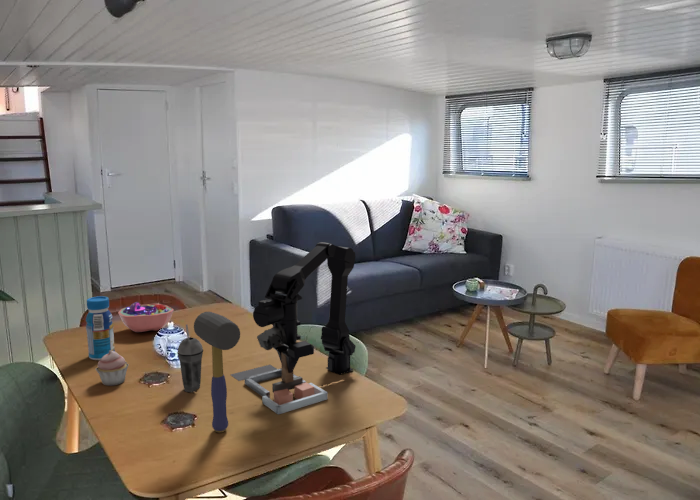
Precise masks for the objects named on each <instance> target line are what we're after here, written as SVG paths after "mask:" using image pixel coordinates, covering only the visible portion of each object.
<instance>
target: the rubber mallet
mask: <svg viewBox="0 0 700 500" xmlns="http://www.w3.org/2000/svg"><path fill="white" fill-rule="evenodd" d="M193 331H194V333H195V335H196V336H198V338H200V339H201V340H202V341H204V342H205V343H206V344H208V345H210V346H211V356H212V357H211V359H212V360H211V362H212V376H211V384H210V385H211V386H210V394H211V396H210V397H211V401H212V416H213V417H212V422H211V426H212V428H213V430H214V432H215V433H224V432H225V431H226V430H227V428H228V426H229V420H228V415H227V397H228V391H227V383H226V382H227V381H226V376H225V374H224V363H223V362H224V359H223V351H228V350H231V349H233V348H234V347H236V346H237V344H238V343H239V341H240V338H241V330H240V328H239V326H238V324H236V323H235V322H234V321H232V320H231V319H229V318H228V317H225V316H224V315H220V314H218V313H215V312H212V311H203V312H202V313H200V314H199V315H198V316H197V317H196V318H195V320H194V322H193Z"/></svg>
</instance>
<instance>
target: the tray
mask: <svg viewBox="0 0 700 500" xmlns="http://www.w3.org/2000/svg"><path fill="white" fill-rule="evenodd" d="M307 383H308V382H307ZM308 384H310V385H312V386H314V395H311V396H308V397H305V398H302V399H295V400H293V401H292V402H288V403H285V404H282V405H278V404H277V403H275V402H274V399H273V400H272V399H271V397H270V398H268V397H267V396H261V397H262V398H261V399H262V404H263V405H265V407H267V408H268V409H270V410H271V411H273V412H274V413H275V414H277V415H281V414H285V413H288V412H290V411H291V412H292V411H294V410H298V409H300V408H303V407H307V406H310V405H313V404H317V403H319V402H320V403H321V402H323V401H326V400H328V397H329V395H328V391H326V390H324V389H323V388H321V387H319V386H318V385H316V384H314V383H313V382H309V383H308Z"/></svg>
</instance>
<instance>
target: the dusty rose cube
mask: <svg viewBox="0 0 700 500" xmlns="http://www.w3.org/2000/svg"><path fill="white" fill-rule="evenodd" d="M293 395H294V393H293V392H291V391H290V390H288V389H283V390H278V391H274V393H273V401H274V402H275V403H277V404H278V405H282V404H285V403H288V402H292V401H294V398H293V397H294V396H293Z"/></svg>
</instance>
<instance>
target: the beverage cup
mask: <svg viewBox="0 0 700 500" xmlns="http://www.w3.org/2000/svg"><path fill="white" fill-rule="evenodd" d="M185 330H186V338H183V339H182V340H181V342H180V343H179V344H178V348H177V357H178V360H179V366H180V372H181V379H182V380H181V381H182V385H183V390H184V392H186V393H196V392H197V390H199V388H201V381H202V359H203V356H204V355H203V354H204V353H203V352H204V349H203V345H202V342H201V341H200V340H199V339H197V338H195V337H190V334H189V326H188V324H185Z"/></svg>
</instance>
